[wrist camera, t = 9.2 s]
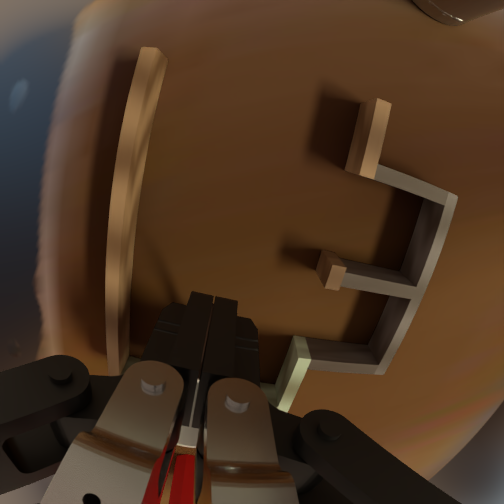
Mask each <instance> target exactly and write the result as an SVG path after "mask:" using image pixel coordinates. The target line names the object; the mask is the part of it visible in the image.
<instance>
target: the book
mask: <svg viewBox="0 0 504 504" xmlns="http://www.w3.org/2000/svg"><path fill="white" fill-rule="evenodd" d="M194 460H195V456H193V455H188V454H185V455H179V456H177V458H176V463H175V468H174V474H173V480H172V486H171V492H170V499H169V504H193V499H194Z"/></svg>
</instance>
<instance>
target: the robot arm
mask: <svg viewBox="0 0 504 504" xmlns="http://www.w3.org/2000/svg"><path fill="white" fill-rule="evenodd" d="M412 1H413V2H414V3H415V4H416V5H417V6H418V7H419V8H420V9H421V10H423V11H424V12H425V13H426V14H428V15H429V16H431V17H432V18H434V19H435V20H437V21H439V22H441V23H444V24H447V25H453V26H457V25H461V24H464V23H466V22H469V21H471V20H474V19H476V18H479V17H481V16H484V15H487V14H490V13H492V12H495V11H498V10H501V9H504V0H412ZM213 297H214V296H212V295H207V294H203V293H198V292H194V291H192V292H191V295H190V298H189V301H188V304H187V305H182V304H178V303H174V302H173V303H171V304H170V305H168V306H167V307H165V308H164V309H163V310H162V312H161V314H160V316H159V318H158V321H157V323H156V325H155V327H154V330H153V332H152V334H151V337H150V339H149V341H148V343H147V346H146V348H145V350H144V353H143V355H142V357H141V360H140V362H138V363H135V364H133V365H131V366H130V367H129V368H128V369H127V370H126V372H125V373H124V374H122V375H118V376H98V375H89V372H88V369H87V368H86V366H85V365H84V364H83V363H82V362H81V361H79V360H78V359H76V358H74V357H71V356H67V355H54V356H50V357H47V358H44V359H41V360H37V361H34V362H32V363H28V364H25V365H22V366H19V367H15V368H12V369H9V370H6V371H3V372H0V495H1V494H4V493H7V492H9V491H12V490H15V489H18V488H20V487H23V486H26V485H29V484H31V483H34V482H36V481H39V480H41V479H44V478H46V477H49V476H51V475H53V474H55V475H54V477H53V479H52V481H51V483H50V485H49V487H48V489H47V491H46V493H45V495H44V497H43V499H42V501H41V503H39V504H160V501H161V497H162V493H163V490H164V486H165V483H166V479H167V476H168V472H169V469H170V465H171V462H172V459H173V455H174V452H175V448H176V445H177V443H178V441H179V437H180V432H181V427H182V426H187V427H189V424H190V418H191V412H192V407H193V401H194V396H195V390H196V385H197V380H198V374H199V369H200V364H201V358H202V353H203V348H204V343H205V337H206V332H207V327H208V322H209V317H210V312H211V307H212V302H213ZM237 305H238V301H236V300H231V299H226V298H222V297H217V296H216V297H215V302H214V306H213V311H212V316H211V321H210V326H209V331H208V336H207V341H206V346H205V351H204V357H203V362H202V368H201V373H200V379H199V385H198V391H197V396H196V402H195V408H194V414H193V420H192V426H191V427H193V428H198V429H199V431H198V438H197V444H196V448H195V460H194V499H193V504H461V503H460V502H458V501H457V500H455V499H453V498H452V497H451V496H449V495H448V494H446V493H444V492H443V491H442V490H440V489H439V488H437V487H436V486H434V485H433V484H432V483H430V482H429V481H427V480H426V479H425V478H423V477H422V476H420V475H419V474H418V473H416V472H415V471H413V470H412V469H411V468H409V467H408V466H407V465H405V464H404V463H402V462H401V461H400V460H398V459H397V458H396V457H394V456H393V455H392V454H391V453H389V452H388V451H387V450H385V449H384V448H383V447H381V446H380V445H379V444H377V443H376V442H375V441H374V440H372V439H371V438H370V437H369V436H367V435H366V434H365V433H364V432H362V431H361V430H360V429H359V428H357V427H356V426H355V425H354V424H352V423H351V422H350V421H349V420H347V419H346V418H345V417H343V416H342V415H340V414H338V413H336V412H334V411H330V410H314V411H311V412H309V413H307V414H306V415H305V416H304V417H303V418H301V417H298V416H295V415H292V414H289V413H287V412H284V411H282V410H279V409H278V408H276V407H274V406H273V405H272V404H270V403H269V402H268V400H267V397H266V395H265V393H264V392H263V391H262V390H261V387H260V369H259V352H258V349H259V348H258V329H257V328H256V326H255V325H254V323H253V321H252V320H251V319H249V318H244V317H239V316H237Z"/></svg>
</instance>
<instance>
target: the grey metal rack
mask: <svg viewBox="0 0 504 504" xmlns="http://www.w3.org/2000/svg"><path fill="white" fill-rule="evenodd" d="M167 63H168V59H167V58H166V57H165V56H164V55H163V54H162V53H161V52H160V51H159V49H158V48H150V47H142V48H141V51H140V54H139V58H138V61H137V65H136V68H135V72H134V76H133V80H132V84H131V88H130V92H129V96H128V100H127V105H126V109H125V114H124V118H123V123H122V128H121V134H120V139H119V145H118V151H117V157H116V163H115V170H114V177H113V185H112V193H111V202H110V211H109V222H108V235H107V252H106V279H105V317H106V344H107V360H108V373H109V376H118V375H122V374H124V373H125V372H126V370H127V369H128V368H129V367H130V366H131V365H133V364H135V363H138V362H140V360H141V359H138V358H135V357H131V356H129V329H130V298H131V279H132V265H133V253H134V242H135V232H136V223H137V215H138V207H139V200H140V192H141V186H142V179H143V173H144V167H145V161H146V155H147V150H148V145H149V139H150V134H151V129H152V125H153V120H154V115H155V111H156V107H157V102H158V98H159V94H160V90H161V86H162V82H163V78H164V74H165V71H166V67H167ZM390 109H391V103H388V102H386V101H383V100H381V99H379V98H376V99H373V100H370V101H366V102H363V103H360V108H359V112H358V117H357V121H356V126H355V130H354V134H353V138H352V142H351V147H350V151H349V155H348V159H347V163H346V166H345V170H344V171H347V172H350V173H354V174H357V175H360V176H363V177H366V178H369V179H372V180H375V181H378V182H381V183H384V184H387V185H390V186H393V187H396V188H399V189H401V190H404V191H407V192H410V193H412V194H415V195H418V196H420V197H423V198H424V199H423V203H422V206H421V210H420V213H419V216H418V219H417V223H416V226H415V229H414V232H413V235H412V238H411V241H410V244H409V247H408V250H407V252H406V255H405V258H404V261H403V263H402V266H401V269H400V271H395V270H391V269H387V268H382V267H378V266H373V265H369V264H364V263H360V262H355V261H351V260H346V259H342V258H339V257H338V256H337V255H336V253H335V252H331V251H326V250H322V251H321V255H320V258H319V261H318V264H317V267H316V270H315V271H316V273H317V275H318V276H319V278H320V280H321V282H322V284H323V286H324V288H327V289H332V290H337V291H339V288H340V286H342V287H347V288H352V289H358V290H363V291H368V292H374V293H379V294H385V295H390V296H389V299H388V301H387V304H386V306H385V308H384V311H383V313H382V315H381V317H380V320H379V322H378V324H377V326H376V328H375V331H374V333H373V335H372V337H371V339H370V341H369V343H368V345H365V344H356V343H347V342H338V341H330V340H322V339H314V338H307V337H300V336H293V338H292V341H291V344H290V346H289V349H288V352H287V354H286V357H285V360H284V362H283V365H282V368H281V370H280V373H279V376H278V378H277V381H276V383H275V384H268V383H260V387H261V390H262V391H263V392H264V393H265V395H266V397H267V400H268V402H269V403H270V404H272V405H273V406H274V407H276V408H278V409H279V410H282V411H284V412H288V410H289V408H290V406H291V404H292V401H293V399H294V397H295V395H296V393H297V391H298V389H299V386H300V384H301V382H302V380H303V377H304V375H305V373H306V371H307V369H310V370H321V371H332V372H344V373H359V374H379V375H384V373H385V371H386V369H387V368H388V366H389V364H390V362H391V361H392V359H393V357H394V355H395V353H396V351H397V349H398V347H399V346H400V344H401V342H402V340H403V338H404V336H405V334H406V332H407V330H408V328H409V326H410V324H411V322H412V319H413V317H414V315H415V313H416V311H417V309H418V306H419V304H420V302H421V300H422V297H423V295H424V293H425V290H426V288H427V286H428V283H429V281H430V278H431V276H432V273H433V271H434V268H435V266H436V263H437V260H438V258H439V255H440V252H441V250H442V247H443V244H444V241H445V238H446V235H447V232H448V229H449V226H450V223H451V219H452V216H453V213H454V210H455V206H456V203H457V199H458V196H456V195H454V194H452V193H450V192H447V191H445V190H443V189H440V188H438V187H436V186H433V185H431V184H429V183H426V182H424V181H421V180H419V179H416V178H414V177H411V176H409V175H406V174H404V173H401V172H398V171H396V170H393V169H390V168H388V167H385V166H382V165H379V164H378V161H379V157H380V153H381V149H382V145H383V141H384V136H385V132H386V127H387V123H388V118H389V113H390Z"/></svg>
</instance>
